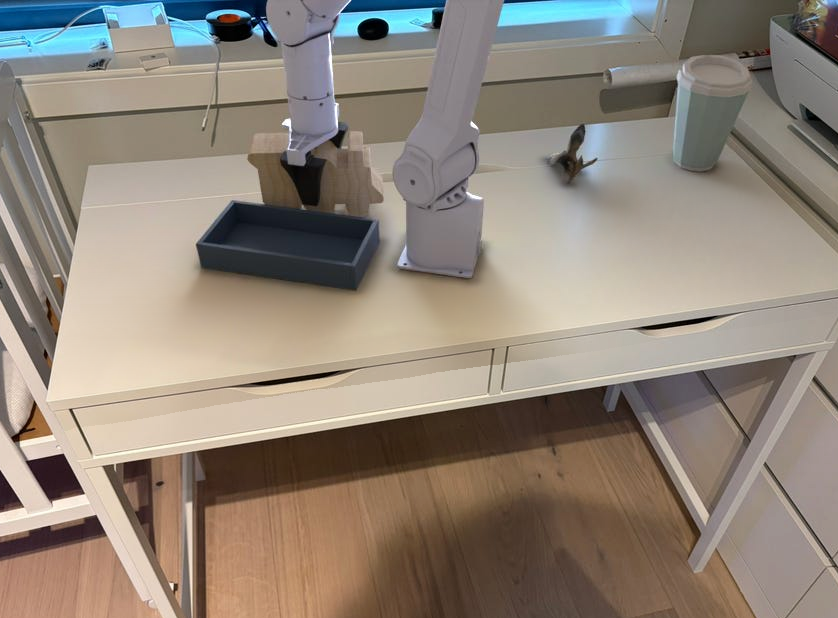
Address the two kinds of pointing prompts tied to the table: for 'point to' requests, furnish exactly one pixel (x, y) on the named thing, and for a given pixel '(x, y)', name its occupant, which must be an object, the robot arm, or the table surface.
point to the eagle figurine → (571, 155)
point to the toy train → (340, 181)
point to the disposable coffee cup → (707, 108)
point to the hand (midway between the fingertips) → (319, 189)
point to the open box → (290, 244)
